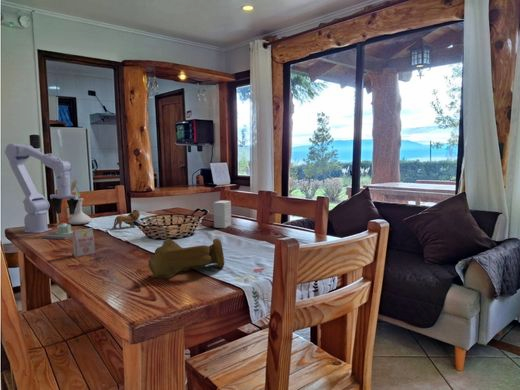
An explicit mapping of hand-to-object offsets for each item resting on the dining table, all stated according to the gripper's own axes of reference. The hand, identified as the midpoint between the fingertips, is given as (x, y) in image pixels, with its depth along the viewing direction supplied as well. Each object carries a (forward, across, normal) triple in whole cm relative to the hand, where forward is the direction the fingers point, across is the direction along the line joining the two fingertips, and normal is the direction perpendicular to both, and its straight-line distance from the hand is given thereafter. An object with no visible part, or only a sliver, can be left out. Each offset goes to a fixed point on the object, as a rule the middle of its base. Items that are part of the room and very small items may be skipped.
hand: (65, 213), depth 174 cm
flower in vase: (+10, +8, -19) cm, 23 cm away
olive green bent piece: (+9, -83, +38) cm, 92 cm away
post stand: (+9, -3, +5) cm, 11 cm away
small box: (+9, -70, -30) cm, 76 cm away
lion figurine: (+9, -22, -17) cm, 29 cm away
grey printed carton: (+9, -35, +29) cm, 46 cm away
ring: (+8, -3, +5) cm, 10 cm away
